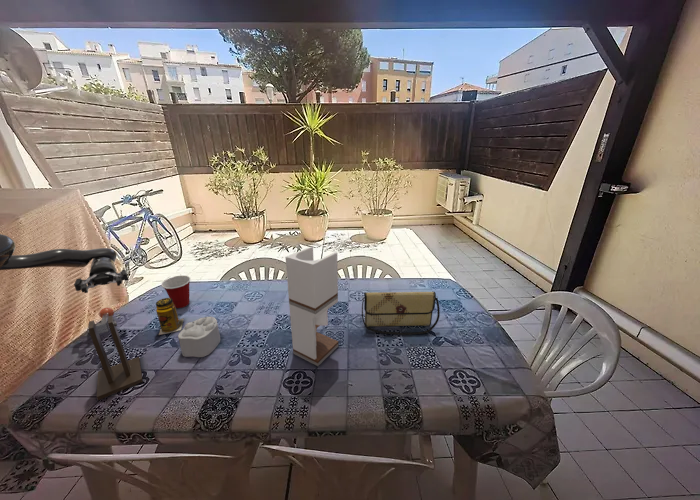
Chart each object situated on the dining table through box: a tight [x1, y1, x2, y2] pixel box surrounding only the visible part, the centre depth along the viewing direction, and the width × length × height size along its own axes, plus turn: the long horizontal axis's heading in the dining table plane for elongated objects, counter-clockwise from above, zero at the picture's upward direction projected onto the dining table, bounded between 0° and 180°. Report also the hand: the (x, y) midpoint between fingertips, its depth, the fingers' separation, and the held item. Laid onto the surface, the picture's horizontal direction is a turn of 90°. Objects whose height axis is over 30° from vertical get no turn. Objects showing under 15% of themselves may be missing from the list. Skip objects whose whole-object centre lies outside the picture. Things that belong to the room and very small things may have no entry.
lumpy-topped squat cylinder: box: [177, 316, 221, 358], centre depth 94 cm, size 10×13×9 cm
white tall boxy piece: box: [284, 246, 339, 367], centre depth 87 cm, size 11×11×35 cm
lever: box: [95, 307, 115, 335], centre depth 81 cm, size 19×4×4 cm, turn 40°
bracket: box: [86, 314, 144, 401], centre depth 78 cm, size 12×10×20 cm
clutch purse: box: [360, 291, 441, 336], centre depth 102 cm, size 30×7×15 cm, turn 92°
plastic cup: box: [160, 275, 191, 309], centre depth 118 cm, size 11×11×12 cm
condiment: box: [155, 297, 185, 336], centre depth 103 cm, size 7×8×12 cm
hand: (102, 286), depth 93 cm, fingers open, 8 cm apart
